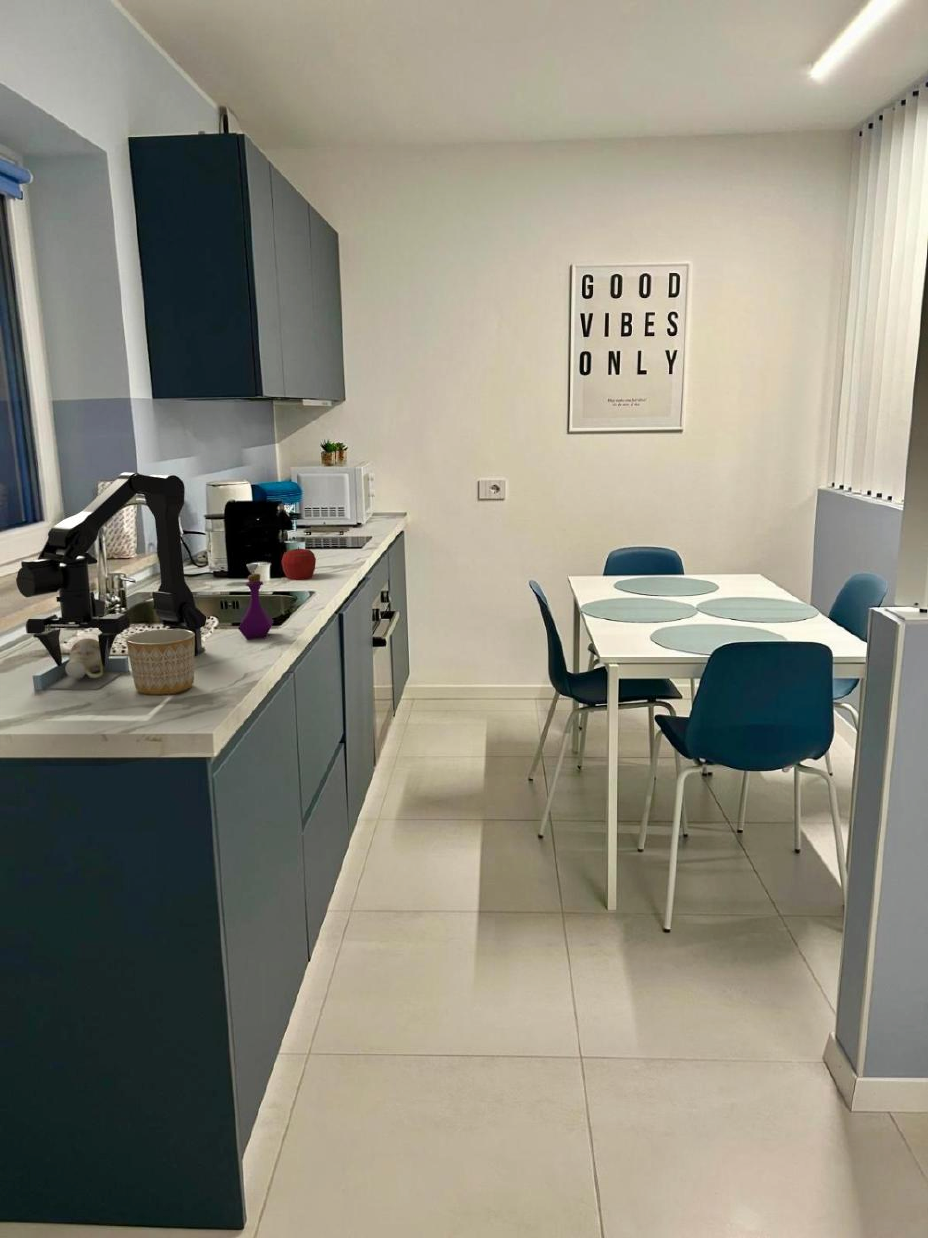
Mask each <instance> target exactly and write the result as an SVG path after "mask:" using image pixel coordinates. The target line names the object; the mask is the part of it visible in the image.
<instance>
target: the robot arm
mask: <svg viewBox="0 0 928 1238" xmlns="http://www.w3.org/2000/svg"><path fill="white" fill-rule="evenodd" d="M185 489H186V487H185V483H184V481H183V480H182V479H181V478H180V477H179V476H177V475H172V474H151V475H145V474H140V473H138V472H122V473H120V474H119V475H118V476H117V477H116V479H115V481H113V482H112V483H110V484H109V486H107V488H106V489H104V491H102V492H101V493H100V494H99V495H98V496H97V497H96V498H95V499H94V500H92V501H91V502H90V503H89V504H88V505H87V506H86V507H85V508H83V510H82V511H80V512H79V513H77V514H75V515H72V516H69V517H68V518H67V517H66V518H65V519H63V520H61V521H60V522H58V523H57V524H55V525H54V526H52V527H51V528H50V529H49V531H48V533H47V537H48V538H47V540H46V543H45V544H44V546H43V548H42V550H41V551H40V553H39V555H38V557H37V559H35V560H29V559H28V560H21V562H20V564H21V565H20V566H21V567H20V569H19V570H18V572H17V576H16V577H15V581H16V586H17V589H18V591H19V592H20V594H21V595H22V597H23V596H24V597H25V598H32V597H38V596H42V595H48V594H49V595H51V594H54V593H59V594H58V595H57V596H56V603H59V604H60V614H61V615H60V616H58V615H57V614H55V613H40V614H37V615H35V616H32V617H29V618H28V619H27V621H26V623H25V631H26V632H25V633H26V634H32V635H33V638H34V639H35V638H36V639H38V640H39V642H40V643H41V644H42V645H43V646H44V647H45V649H46V650H47V652H48V653H49V655H50V656H51V658H52V659H53V661H54V663H56V664H57V666H61V665H62V659H63V656H62V649H61V643H60V634H61V629H98V630H99V631H100V634H97V638H98V640H97V641H99V647H100V655H101V661H102V664H103V666H106V665H107V663H108V659H109V657H110V655H111V650H112V647H113V644H114V641H115V639H116V638H117V636H118V635H119V634H122V633H123V632H125V630H127V629H128V628H130V627H131V625H130V618H129V617H128V615H126V613H108V614H106V615H105V613H106V612H105V609H106V601H105V600H100V599H97V598H95V593H94V591H93V590H91V585H90V574H89V573H90V572H89V565H95V564H97V563H98V559H97V558H96V557H93V556H92V555H91V553H89V550H90V549H91V548H92V547H93V545H94V543H95V542H96V541H97V539H98V536H99V532H100V530H101V529H102V527H103V526H104V525H106V524H107V522H108V521H109V520H111V519H112V518H113V517H114V516H115V515H116V514H117V513H118V512H120V510H121V509H122V508H124V506H125V505H127V503H129V502H130V501H131V500H132V499H133V498H134V497H135V496H136V495H142V496H144V499H145V504H146V505H147V507H148V509H149V511H150V512H151V513H152V515H153V516H154V517H153V518H154V523H155V532H156V543H157V545H156V546H157V555H158V563H159V571H160V573H159V574H160V585H159V586H158V589H157V590H155V591H154V590H153V591H152V594H151V596H152V600H153V601H152V602H153V605H152V607H153V608H152V610H155V614H156V616H157V617H158V618H159V619H160V621H161V623H162V625H163V627H168V628H167V629H183V630H189V631H192V632H194V634H195V648H194V657H196V656H199V655H200V653H202V652H203V651H204V650H205V649H206V648H205V646H203V644H202V628H205V627H206V623H207V620H208V619H207V618H208V617H207V616H206V615H205V614H204V613H203V612H202V611H201V610H200V609H198V608H197V607H196V602H195V598H194V594H193V591H192V589H190V587H189V586H188V583H187V582H186V578H185V569H184V559H183V548H182V547H183V546H182V539H181V528H180V527H181V526H180V513H181V512H182V509H183V507H184V505H185ZM205 651H206V650H205Z"/></svg>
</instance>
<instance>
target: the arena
mask: <svg viewBox="0 0 928 1238" xmlns="http://www.w3.org/2000/svg"><path fill="white" fill-rule="evenodd" d="M68 662H69V656H65V657H62V665H61V666H57V664H56V662H53V664H51V665H49V666H47V667H45V668H43V669H41V670H40V671H38V672H36V673H35V674H33V675H32V683H33V690H34V691H43V690H46V687H48V686H50V685H52V684H53V683H55V682H57V681H58V680H60V679H62V678H63V677H65V676H67V673H66V670H65V667H66V664H67V663H68ZM98 671H100V670H98ZM103 671H124V673H127V672H129V671H130V667H129V657H128V656H109V659H108V663H107V665H106V666H103Z"/></svg>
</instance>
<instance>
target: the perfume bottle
mask: <svg viewBox="0 0 928 1238" xmlns="http://www.w3.org/2000/svg"><path fill="white" fill-rule="evenodd" d="M258 566H259V564H257V563H247V564H246V567H247V570H248V572H249V573H250V574H249V575H248V576H247V579H248V581H247V582H246V583H245V585H246V586H247V587H248V589H249V590H250V599H249V600H250V602H249V606H248V609H247V611H246V613H245V615H244V617H243V618H242V620H241V622H240V624H239V625H238V629H237V630H239V631H240V633H241V634H242V636H243V638H245V639H246V640H254V639H256V640H257V639H266V638H267V636H268V634H269V632H270V630H271V628H272V627H273V624H274V619H272V618H271V616H269V615H268V614H267V612H266V611H265V610H264V608H263V607H262V604H261V601H260V588H261V586H263V585H264V582H263V581H261V574H260V573H255V571H256V569H257V568H258Z"/></svg>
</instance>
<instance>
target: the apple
mask: <svg viewBox="0 0 928 1238" xmlns="http://www.w3.org/2000/svg"><path fill="white" fill-rule="evenodd" d="M316 561H317V559H316V555H315V553H314V552H313V551H312V550H310V549H307V548H300V547H299V546H297V548H293V549H290V550H287V551H285V552H284V554H283V555H282V558H281V567H282V571H283V573H284V575H285V576H286V579H288V580H289V581H305V580H309V579H312V577H313V575H314V573H315V570H316Z"/></svg>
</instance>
